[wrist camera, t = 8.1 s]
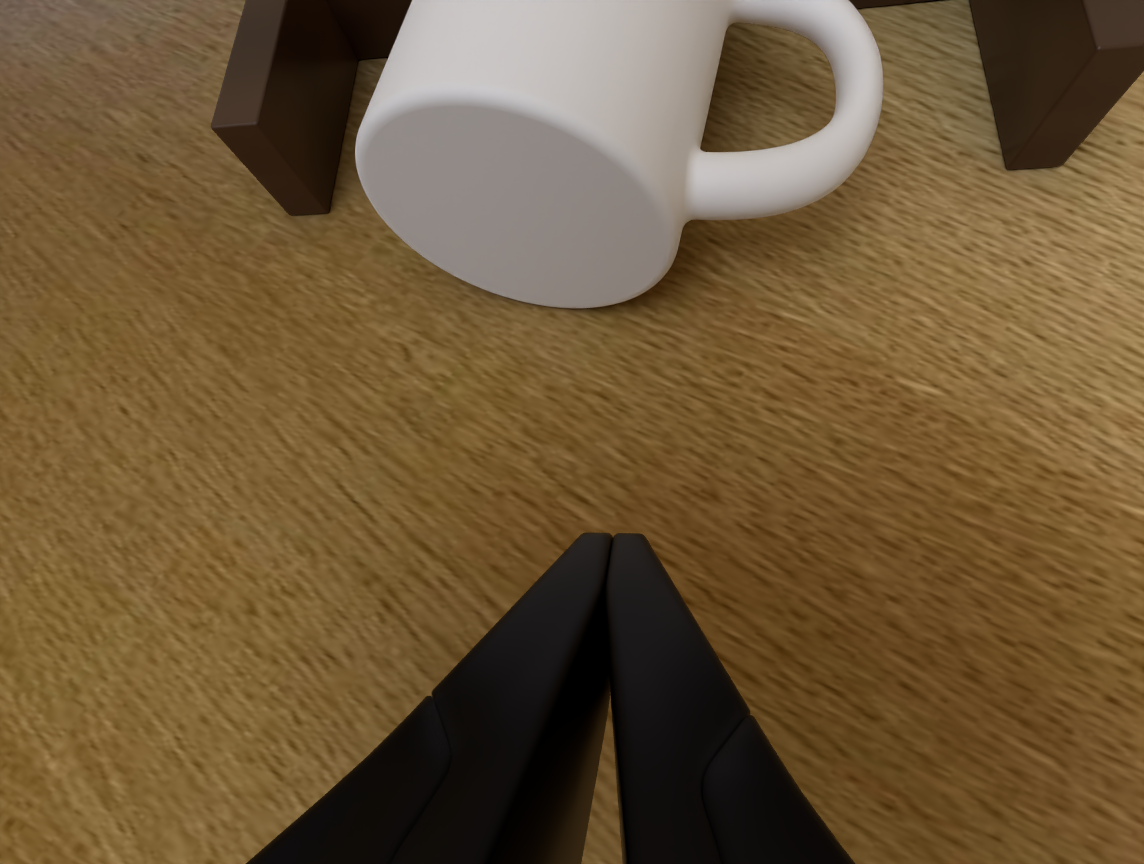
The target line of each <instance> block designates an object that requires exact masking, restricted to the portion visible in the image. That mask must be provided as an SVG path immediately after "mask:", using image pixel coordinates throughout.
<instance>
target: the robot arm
mask: <svg viewBox="0 0 1144 864" xmlns="http://www.w3.org/2000/svg"><path fill="white" fill-rule="evenodd" d="M610 693H611V710H612V725H613V738H614V752H615V766H616V779H617V793H618V806H619V820H620V834H621V847H622V861H623V864H855V863H854V861H853V860H852V859H851V858H850V856H849V855H848V854H847V852H846V851H845V850H844V848H843V847H842V846H841V845H840V843H839V842H838V841H837V839H836V838H835V837H834V835H833V834H832V832H831V831H830V830H829V828H828V827H827V826H826V824H825V823H824V821H823V820H822V819H821V817H820V816H819V815H818V813H817V812H816V811H815V809H814V808H813V806H812V805H811V804H810V802H809V801H808V800H807V798H806V797H805V796H804V794H803V793H802V791H801V790H800V789H799V787H798V785H797V784H796V782H795V781H794V779H793V778H792V776H791V775H790V773H789V772H788V770H787V769H786V767H785V765H784V764H783V762H782V761H781V759H780V758H779V756H778V755H777V753H776V752H775V750H774V748H773V747H772V745H771V744H770V742H769V740H768V739H767V737H766V735H765V734H764V732H763V730H762V729H761V727H760V725H759V724H758V722H757V720H756V719H755V717H754V716H752V715H750V709H749V708H748V706H747V704H746V703H745V701H744V700H743V698H742V696H741V695H740V693H739V691H738V690H737V688H736V686H735V685H734V683H733V681H732V680H731V678H730V676H729V675H728V673H727V671H726V670H725V668H724V666H723V665H722V663H721V661H720V660H719V658H718V656H717V655H716V653H715V651H714V650H713V648H712V646H711V645H710V643H709V641H708V640H707V638H706V636H705V635H704V633H703V631H702V630H701V628H700V626H699V625H698V623H697V621H696V620H695V618H694V616H693V615H692V613H691V611H690V610H689V608H688V607H687V605H686V603H685V602H684V600H683V598H682V597H681V595H680V593H679V592H678V590H677V588H676V587H675V585H674V583H673V582H672V580H671V578H670V577H669V575H668V573H667V572H666V570H665V568H664V567H663V565H662V563H661V562H660V560H659V558H658V557H657V555H656V553H655V552H654V550H653V548H652V547H651V545H650V543H649V542H648V540H647V538H646V537H645V536H644V535H643V534H637V533H617V534H616V535H614V537H612V535H611V534H610V533H583V534H581V535H580V536H579V537H578V538H577V539H576V540H575V541H574V542H573V544H572V545H571V546H570V547H569V548H568V549H567V550H566V551H565V552H564V553H563V554H562V555H561V556H560V557H559V558H558V559H557V560H556V561H555V562H554V563H553V565H552V566H551V567H550V568H549V569H548V570H547V571H546V572H545V573H544V574H543V575H542V576H541V577H540V578H539V579H538V580H537V581H536V582H535V583H534V584H533V586H532V587H531V588H530V589H529V590H528V591H527V592H526V593H525V594H524V595H523V596H522V597H521V598H520V599H519V600H518V601H517V602H516V603H515V604H514V605H513V607H512V608H511V609H510V610H509V611H508V612H507V613H506V614H505V615H504V616H503V617H502V618H501V619H500V620H499V621H498V622H497V623H496V624H495V625H494V626H493V628H492V629H491V630H490V631H489V632H488V633H487V634H486V635H485V636H484V637H483V638H482V639H481V640H480V641H479V642H478V643H477V644H476V645H475V646H474V647H473V649H472V650H471V651H470V652H469V653H468V654H467V655H466V656H465V657H464V658H463V659H462V660H461V661H460V662H459V663H458V664H457V665H456V666H455V667H454V668H453V670H452V671H451V672H450V673H449V674H448V675H447V676H446V677H445V678H444V679H443V680H442V681H441V682H440V683H439V684H438V685H437V686H436V687H435V688H434V689H433V691H432V696H427V697H426V698H425V699H424V700H423V701H422V702H421V703H420V704H419V705H418V706H417V707H416V708H415V709H414V710H413V711H412V712H411V713H410V714H409V715H408V716H407V717H406V719H405V720H404V721H403V722H401V723H400V724H399V725H398V726H397V727H396V728H395V729H394V730H393V731H392V732H391V733H390V734H389V735H388V736H387V737H386V738H385V739H384V740H383V741H382V742H381V743H380V744H379V745H378V746H377V747H376V748H375V749H374V750H373V751H372V752H371V753H370V754H369V755H368V756H367V757H366V758H365V759H364V760H363V761H362V762H361V763H359V764H358V765H357V766H356V767H355V768H354V769H353V770H352V771H351V772H350V773H348V774H347V775H346V776H345V777H344V778H343V779H342V780H341V781H340V782H339V783H337V784H336V785H335V786H334V787H333V788H332V789H331V790H330V791H329V792H328V793H326V794H325V795H324V796H323V797H322V798H321V799H320V800H318V801H317V802H316V803H315V804H314V805H313V806H312V807H310V808H309V809H308V810H307V811H306V812H305V813H304V814H302V815H301V816H300V817H299V818H298V819H297V820H296V821H294V822H293V823H292V824H291V825H290V826H289V827H287V828H286V829H285V830H284V831H283V832H282V833H281V834H279V835H278V836H277V837H276V838H275V839H274V840H273V841H271V842H270V843H269V844H268V845H267V846H266V847H265V848H263V849H262V850H261V851H260V852H259V853H258V854H256V855H255V856H254V857H253V858H252V859H251V860H250V861H248V862H247V863H246V864H581V861H582V856H583V850H584V844H585V839H586V833H587V828H588V822H589V816H590V811H591V805H592V799H593V794H594V788H595V783H596V777H597V771H598V766H599V760H600V754H601V749H602V743H603V738H604V732H605V726H606V721H607V714H608V708H609V701H610Z"/></svg>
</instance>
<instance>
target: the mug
mask: <svg viewBox="0 0 1144 864" xmlns="http://www.w3.org/2000/svg"><path fill="white" fill-rule="evenodd" d="M733 23H748V24H757V25H764V26H770V27H775V28H780V29H784V30H788V31H791V32H794V33H797V34H799V35H801V36H804V37H805V38H807V39H809V40H810V41H812V42H813V43H814V44H816V45H817V46H818V47H819V48H820V49H821V50H822V52H823V53H824V54H825V56H826V57H827V59H828V61H829V63H830V66H831V68H832V72H833V75H834V81H835V89H836V105H835V112H834V116H833V118H832V120H831V121H830V123H829V124H828V125H827V126H826V127H824V128H823V129H822V130H820V131H819V132H817V133H816V134H814V135H812V136H810V137H808V138H805V139H803V140H800V141H798V142H795V143H792V144H788V145H784V146H780V147H775V148H770V149H763V150H754V151H743V152H704V151H702V150H701V149H700V147H701V142H702V137H703V133H704V128H705V124H706V119H707V115H708V110H709V106H710V101H711V96H712V92H713V87H714V83H715V78H716V74H717V69H718V65H719V60H720V56H721V51H722V47H723V42H724V37H725V33H726V30H727V28H728V27H729V26H730V25H731V24H733ZM882 99H883V69H882V63H881V57H880V53H879V50H878V47H877V44H876V41H875V39H874V37H873V34H872V32H871V30H870V29H869V27H868V25H867V23H866V22H865V20H864V19H863V17H862V16H861V14H860V13H859V12H858V10H857V9H856V8H855V7H854V6H853V4H852V3H851V2H850V1H849V0H412V2H411V4H410V7H409V9H408V11H407V14H406V16H405V19H404V21H403V24H402V26H401V28H400V31H399V33H398V36H397V38H396V40H395V43H394V45H393V48H392V50H391V53H390V55H389V57H388V60H387V62H386V65H385V67H384V69H383V72H382V74H381V77H380V79H379V82H378V84H377V86H376V89H375V91H374V94H373V96H372V99H371V101H370V103H369V106H368V108H367V111H366V113H365V115H364V118H363V120H362V123H361V125H360V128H359V130H358V134H357V138H356V145H355V159H356V167H357V171H358V175H359V178H360V181H361V184H362V187H363V189H364V191H365V193H366V195H367V197H368V199H369V200H370V202H371V204H372V205H373V207H374V208H375V210H376V211H377V213H378V214H379V215H380V217H381V218H382V219H383V220H384V222H385V223H386V224H387V225H388V226H389V227H390V228H391V229H392V230H393V231H394V232H395V233H396V234H397V235H398V236H399V237H400V238H401V239H402V240H403V241H404V242H405V243H406V244H408V245H409V246H410V247H411V248H412V249H414V250H415V251H416V252H417V253H419V254H420V255H421V256H423V257H424V258H426V259H427V260H429V261H430V262H431V263H433V264H435V265H436V266H438V267H439V268H441V269H443V270H444V271H446V272H448V273H450V274H452V275H453V276H455V277H457V278H459V279H461V280H463V281H465V282H468V283H470V284H472V285H474V286H477V287H479V288H481V289H484V290H486V291H489V292H492V293H495V294H498V295H501V296H504V297H507V298H511V299H514V300H518V301H522V302H526V303H531V304H536V305H542V306H549V307H559V308H594V307H602V306H608V305H613V304H617V303H621V302H624V301H627V300H630V299H632V298H634V297H637V296H639V295H641V294H642V293H644V292H646V291H648V290H649V289H650V288H652V287H653V286H654V285H656V284H657V283H658V282H659V281H660V280H661V279H662V278H663V277H664V275H665V274H666V273H667V272H668V270H669V269H670V267H671V265H672V264H673V262H674V259H675V257H676V254H677V250H678V246H679V242H680V238H681V233H682V229H683V226H684V225H685V224H686V223H687V222H688V221H690V220H740V219H753V218H762V217H768V216H774V215H778V214H783V213H787V212H790V211H794V210H797V209H800V208H802V207H805V206H807V205H810V204H812V203H814V202H816V201H818V200H820V199H822V198H823V197H825V196H827V195H828V194H830V193H831V192H832V191H834V190H835V189H836V188H838V187H839V186H840V185H841V184H842V183H843V182H844V181H845V180H846V179H847V178H848V177H849V176H850V175H851V174H852V173H853V172H854V170H855V169H856V168H857V166H858V165H859V164H860V162H861V161H862V159H863V157H864V156H865V154H866V152H867V150H868V148H869V146H870V144H871V142H872V139H873V137H874V134H875V131H876V128H877V125H878V122H879V117H880V112H881V107H882Z"/></svg>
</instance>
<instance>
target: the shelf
mask: <svg viewBox="0 0 1144 864" xmlns="http://www.w3.org/2000/svg"><path fill="white" fill-rule="evenodd" d="M849 1H850V2H851V3H852V4H853V6H854V7H855V8H866V7H875V6H885V5H895V4H905V3H914V2H924V1H934V0H849ZM411 2H412V0H246V1H245V5H244V9H243V12H242V16H241V19H240V23H239V27H238V30H237V34H236V37H235V41H234V45H233V48H232V52H231V55H230V59H229V63H228V66H227V70H226V73H225V77H224V81H223V84H222V88H221V91H220V95H219V98H218V102H217V106H216V109H215V113H214V116H213V120H212V124H211V128H212V130H213V131H214V132H215V133H216V134H217V135H218V136H219V137H220V138H221V140H222V141H223V142H224V143H225V144H226V145H227V146H228V147H229V148H230V150H231V151H232V152H233V153H234V154H235V155H236V156H237V157H238V158H239V160H240V161H241V162H242V163H243V164H244V165H245V166H246V167H247V168H248V170H249V171H250V172H251V173H252V174H253V175H254V176H255V177H256V178H257V180H258V181H259V182H260V183H261V184H262V185H263V186H264V187H265V188H266V190H267V191H268V192H269V193H270V194H271V195H272V196H273V197H274V198H275V200H276V201H277V202H278V203H279V204H280V205H281V206H282V207H283V208H284V210H285V211H286V212H287V213H288V214H289V215H305V214H320V213H328V212H329V207H330V201H331V196H332V191H333V186H334V181H335V175H336V170H337V165H338V160H339V155H340V150H341V144H342V139H343V134H344V129H345V124H346V119H347V113H348V108H349V103H350V98H351V93H352V87H353V82H354V77H355V72H356V67H357V62H358V61H357V60H360V59H370V58H380V57H389V55H390V53H391V50H392V48H393V45H394V43H395V40H396V38H397V36H398V33H399V31H400V28H401V26H402V24H403V21H404V19H405V16H406V14H407V11H408V9H409V7H410V4H411ZM970 5H971V9H972V14H973V18H974V23H975V27H976V32H977V36H978V41H979V45H980V50H981V54H982V59H983V63H984V68H985V72H986V77H987V81H988V86H989V91H990V95H991V100H992V104H993V109H994V113H995V118H996V122H997V127H998V131H999V136H1000V140H1001V145H1002V149H1003V154H1004V158H1005V163H1006V167H1007V169H1009V170H1011V169H1026V168H1042V167H1058V166H1062V165H1063V164H1064V163H1065V162H1066V160H1067V159H1068V158H1069V157H1070V156H1071V155H1072V153H1073V152H1074V151H1075V150H1076V149H1077V148H1078V147H1079V145H1080V144H1081V143H1082V142H1083V141H1084V140H1085V138H1086V137H1087V136H1088V135H1089V134H1090V133H1091V131H1092V130H1093V129H1094V128H1095V127H1096V126H1097V124H1098V123H1099V122H1100V121H1101V120H1102V119H1103V118H1104V116H1105V115H1106V114H1107V113H1108V112H1109V111H1110V109H1111V108H1112V107H1113V106H1114V105H1115V104H1116V102H1117V101H1118V100H1119V99H1120V98H1121V97H1122V96H1123V94H1124V93H1125V92H1126V91H1127V90H1128V89H1129V87H1130V86H1131V85H1132V84H1133V83H1134V82H1135V80H1136V79H1137V78H1138V77H1139V76H1140V75H1141V73H1142V72H1143V71H1144V0H970Z"/></svg>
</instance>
